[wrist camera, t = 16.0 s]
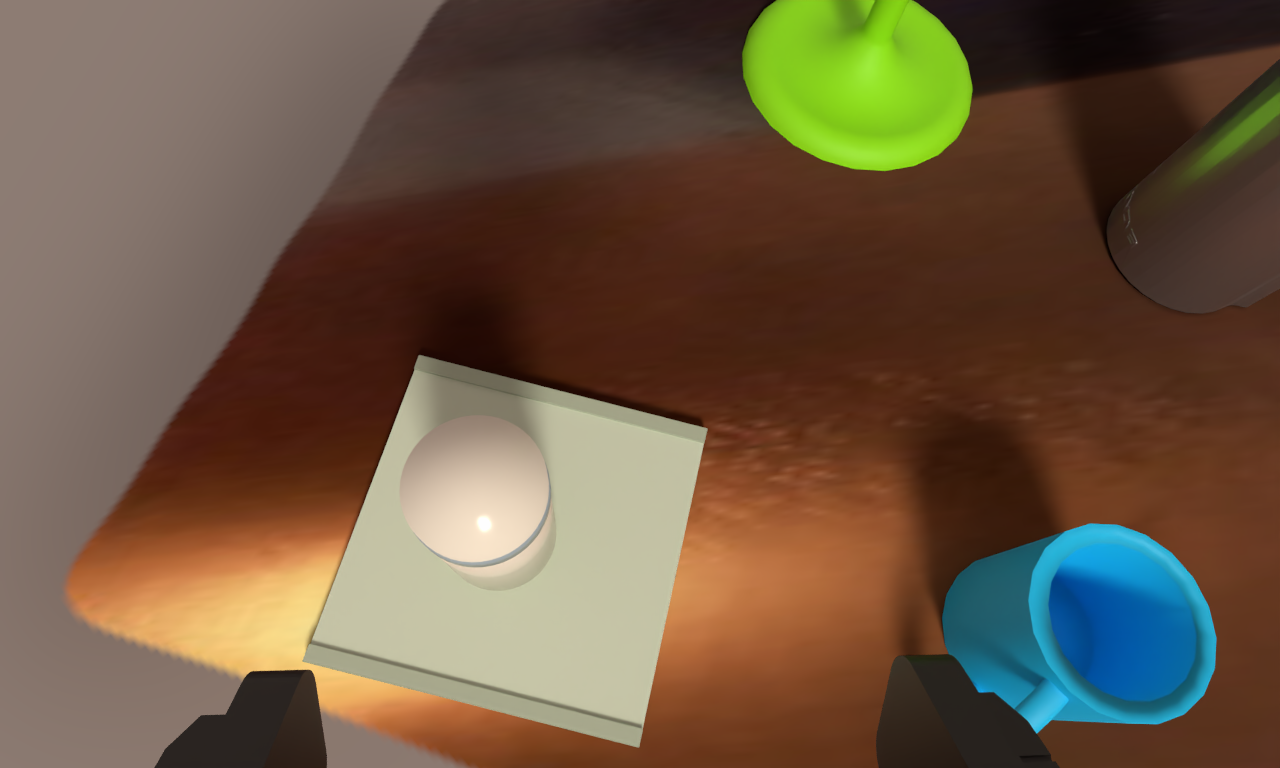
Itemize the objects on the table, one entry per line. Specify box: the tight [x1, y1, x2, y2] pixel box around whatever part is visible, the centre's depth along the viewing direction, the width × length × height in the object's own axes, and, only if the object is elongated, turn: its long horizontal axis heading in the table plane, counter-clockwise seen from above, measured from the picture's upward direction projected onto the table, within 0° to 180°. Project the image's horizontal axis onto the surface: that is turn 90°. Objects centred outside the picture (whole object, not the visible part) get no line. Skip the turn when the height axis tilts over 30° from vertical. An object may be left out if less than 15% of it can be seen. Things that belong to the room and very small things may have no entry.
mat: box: [303, 355, 707, 747], centre depth 40 cm, size 16×16×1 cm
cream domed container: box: [399, 415, 557, 591], centre depth 35 cm, size 6×6×10 cm
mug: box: [942, 524, 1216, 734], centre depth 36 cm, size 12×8×8 cm
